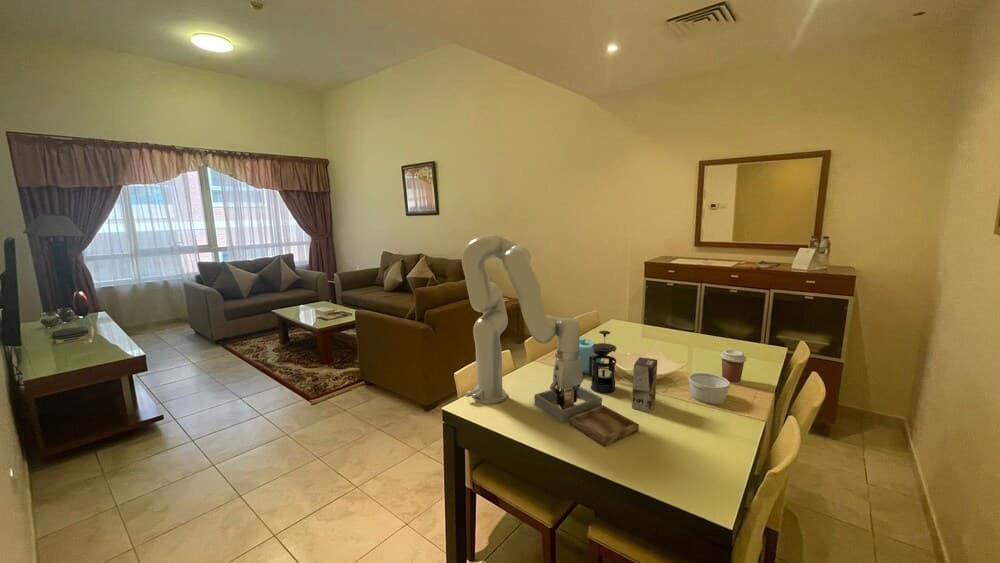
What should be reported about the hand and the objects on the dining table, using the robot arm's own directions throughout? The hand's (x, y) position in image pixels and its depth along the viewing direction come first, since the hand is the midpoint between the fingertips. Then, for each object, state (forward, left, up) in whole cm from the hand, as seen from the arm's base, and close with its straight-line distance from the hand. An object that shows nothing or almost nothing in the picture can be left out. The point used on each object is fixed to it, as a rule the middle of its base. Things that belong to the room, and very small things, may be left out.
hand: (566, 402), depth 143 cm
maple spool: (0, 0, -1) cm, 1 cm away
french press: (+21, +4, -2) cm, 22 cm away
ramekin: (+47, -23, -2) cm, 53 cm away
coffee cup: (+68, -20, -2) cm, 71 cm away
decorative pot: (+28, +23, -2) cm, 36 cm away
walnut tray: (0, -17, -2) cm, 17 cm away
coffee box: (+23, -14, -2) cm, 27 cm away
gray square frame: (0, 0, -2) cm, 2 cm away
